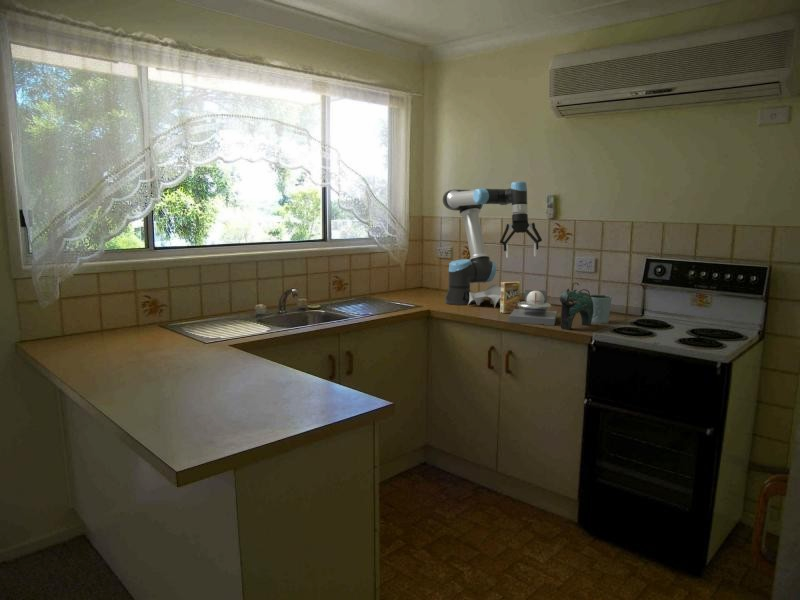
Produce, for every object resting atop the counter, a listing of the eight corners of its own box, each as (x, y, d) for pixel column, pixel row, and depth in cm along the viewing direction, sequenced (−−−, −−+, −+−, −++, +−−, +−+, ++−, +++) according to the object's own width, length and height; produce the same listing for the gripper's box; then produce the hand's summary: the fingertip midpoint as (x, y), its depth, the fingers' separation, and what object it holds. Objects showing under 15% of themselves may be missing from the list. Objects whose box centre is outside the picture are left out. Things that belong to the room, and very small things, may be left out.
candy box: (503, 313, 286) (504, 282, 284) (499, 312, 290) (500, 281, 288) (519, 312, 289) (520, 282, 286) (515, 311, 293) (516, 281, 290)
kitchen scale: (508, 322, 264) (509, 294, 262) (514, 314, 283) (515, 288, 281) (554, 325, 258) (555, 296, 256) (556, 317, 277) (557, 290, 275)
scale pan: (515, 310, 265) (515, 305, 264) (519, 305, 279) (519, 300, 279) (549, 312, 260) (549, 307, 260) (551, 306, 275) (551, 302, 274)
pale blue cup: (613, 321, 268) (615, 296, 266) (604, 324, 260) (606, 298, 259) (592, 318, 275) (594, 293, 273) (583, 321, 267) (584, 296, 265)
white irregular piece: (500, 309, 300) (501, 290, 298) (465, 306, 307) (465, 288, 305) (510, 302, 323) (510, 285, 321) (476, 300, 330) (477, 283, 328)
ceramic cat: (566, 331, 247) (569, 284, 244) (554, 328, 252) (556, 282, 249) (595, 325, 259) (597, 281, 256) (583, 323, 264) (585, 279, 261)
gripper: (494, 214, 281) (496, 258, 282) (546, 211, 280) (548, 255, 281) (493, 215, 289) (495, 258, 290) (544, 213, 287) (545, 256, 288)
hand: (521, 257), depth 285 cm, fingers open, 13 cm apart
